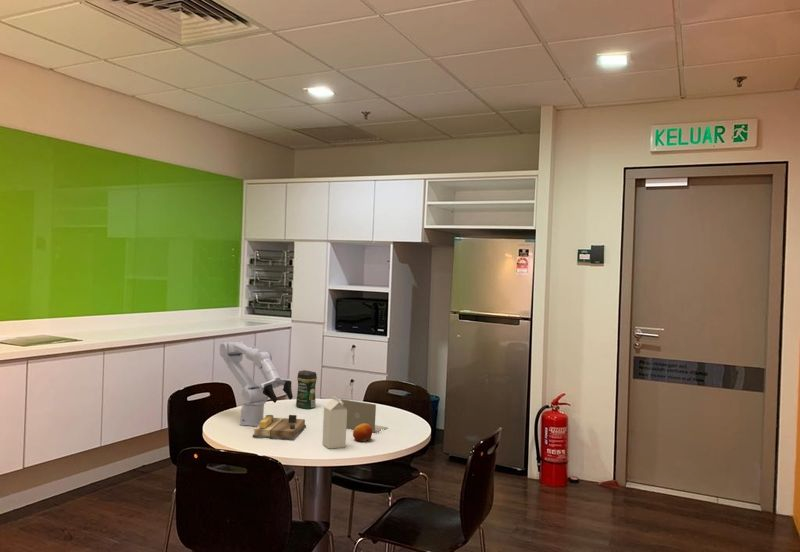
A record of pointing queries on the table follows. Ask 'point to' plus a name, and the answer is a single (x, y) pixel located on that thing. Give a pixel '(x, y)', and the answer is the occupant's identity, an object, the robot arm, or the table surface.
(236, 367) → the robot arm
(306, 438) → the table surface
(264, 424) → the bar
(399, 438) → the table surface
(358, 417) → the laptop
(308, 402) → the coffee jar
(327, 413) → the milk carton
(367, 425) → the fruit
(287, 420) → the wooden board with knob
